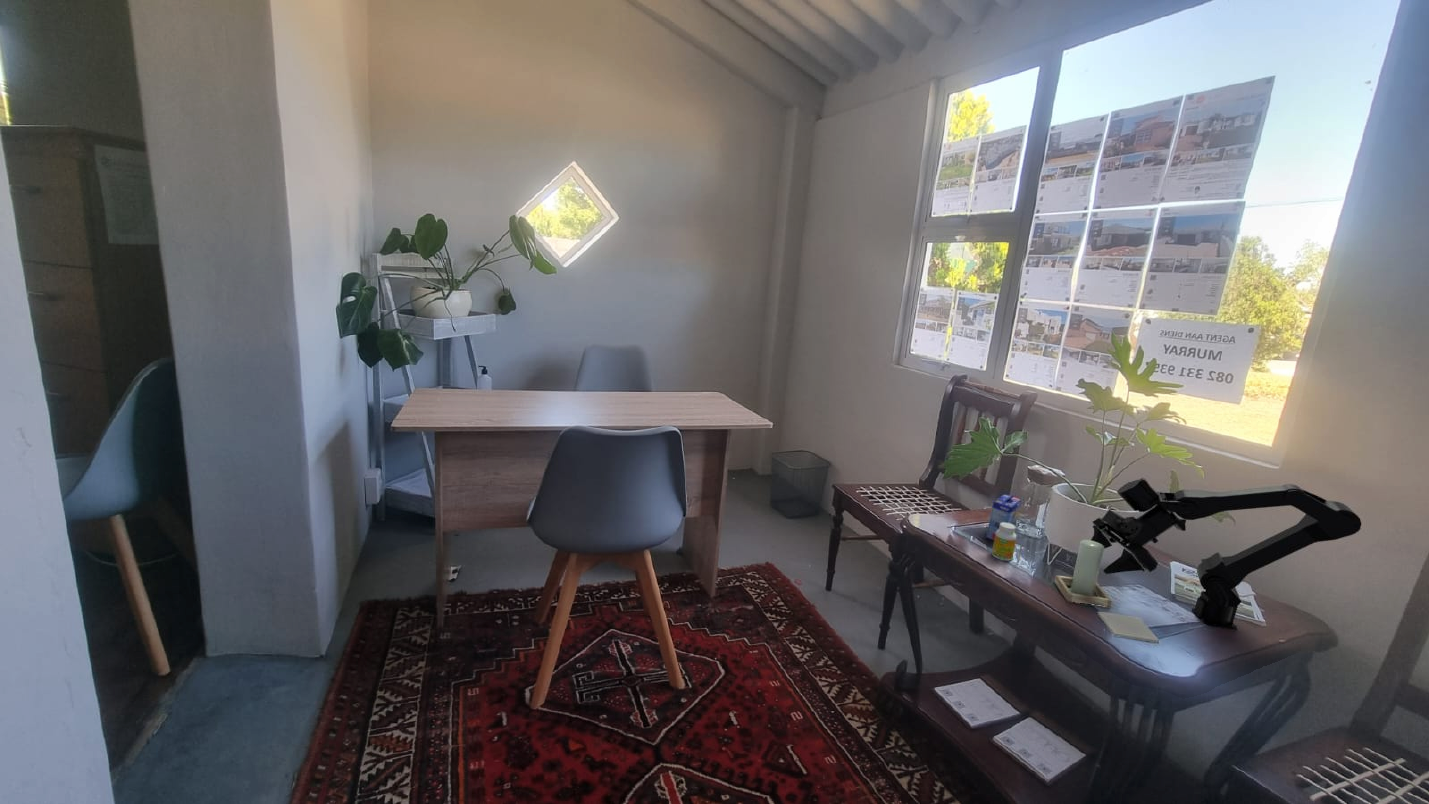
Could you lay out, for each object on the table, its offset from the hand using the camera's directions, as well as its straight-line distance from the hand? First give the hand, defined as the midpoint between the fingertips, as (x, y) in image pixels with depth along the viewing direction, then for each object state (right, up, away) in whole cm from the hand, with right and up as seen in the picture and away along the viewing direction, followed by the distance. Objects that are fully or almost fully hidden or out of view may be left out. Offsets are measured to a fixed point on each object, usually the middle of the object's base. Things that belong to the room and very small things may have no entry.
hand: (1093, 563), depth 146 cm
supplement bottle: (-13, -4, +20) cm, 24 cm away
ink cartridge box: (-7, -1, +33) cm, 34 cm away
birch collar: (-2, -9, +2) cm, 9 cm away
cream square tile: (0, -12, -11) cm, 16 cm away
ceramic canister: (-2, -9, +2) cm, 9 cm away
